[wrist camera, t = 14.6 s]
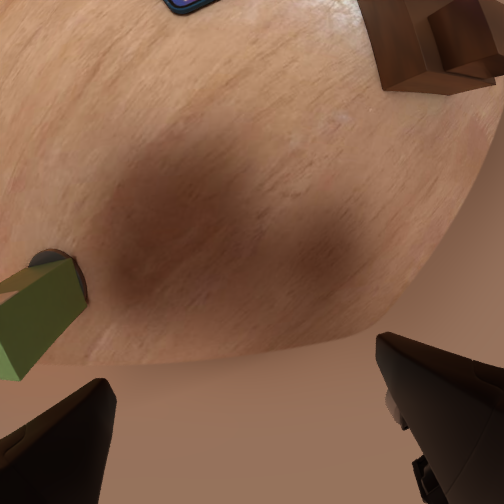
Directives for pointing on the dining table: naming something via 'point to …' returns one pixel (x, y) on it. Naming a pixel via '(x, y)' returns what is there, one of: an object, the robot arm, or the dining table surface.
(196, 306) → the dining table surface
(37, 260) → the coaster
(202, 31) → the dining table surface
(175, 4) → the smartphone
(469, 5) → the walnut stand
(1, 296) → the packet
